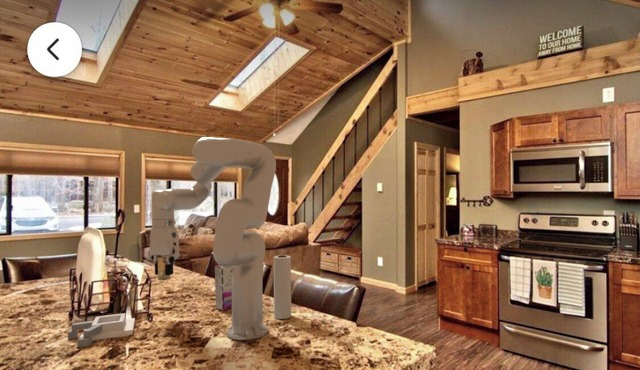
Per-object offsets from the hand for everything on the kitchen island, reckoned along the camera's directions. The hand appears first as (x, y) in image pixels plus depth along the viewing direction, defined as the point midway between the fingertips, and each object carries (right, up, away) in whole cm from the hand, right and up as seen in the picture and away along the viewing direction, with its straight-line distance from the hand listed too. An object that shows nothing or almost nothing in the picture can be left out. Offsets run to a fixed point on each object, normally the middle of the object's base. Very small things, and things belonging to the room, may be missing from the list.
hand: (164, 274), depth 133 cm
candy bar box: (+22, -15, +10) cm, 28 cm away
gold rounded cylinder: (0, -2, 0) cm, 2 cm away
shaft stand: (-12, -15, -19) cm, 26 cm away
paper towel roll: (+44, -15, -3) cm, 46 cm away
